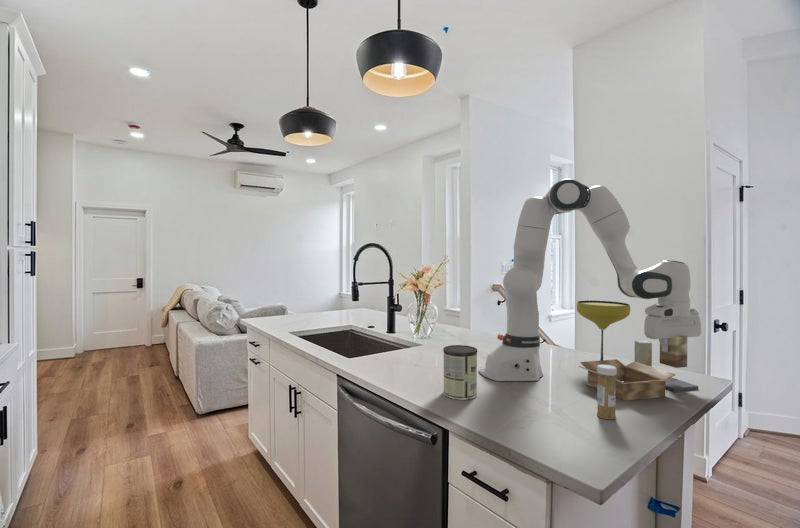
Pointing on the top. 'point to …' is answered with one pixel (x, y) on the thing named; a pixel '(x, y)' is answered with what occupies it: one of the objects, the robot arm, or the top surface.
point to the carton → (632, 379)
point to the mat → (679, 385)
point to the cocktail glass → (603, 314)
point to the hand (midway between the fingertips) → (673, 351)
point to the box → (643, 352)
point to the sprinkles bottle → (606, 391)
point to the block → (675, 352)
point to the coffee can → (460, 372)
